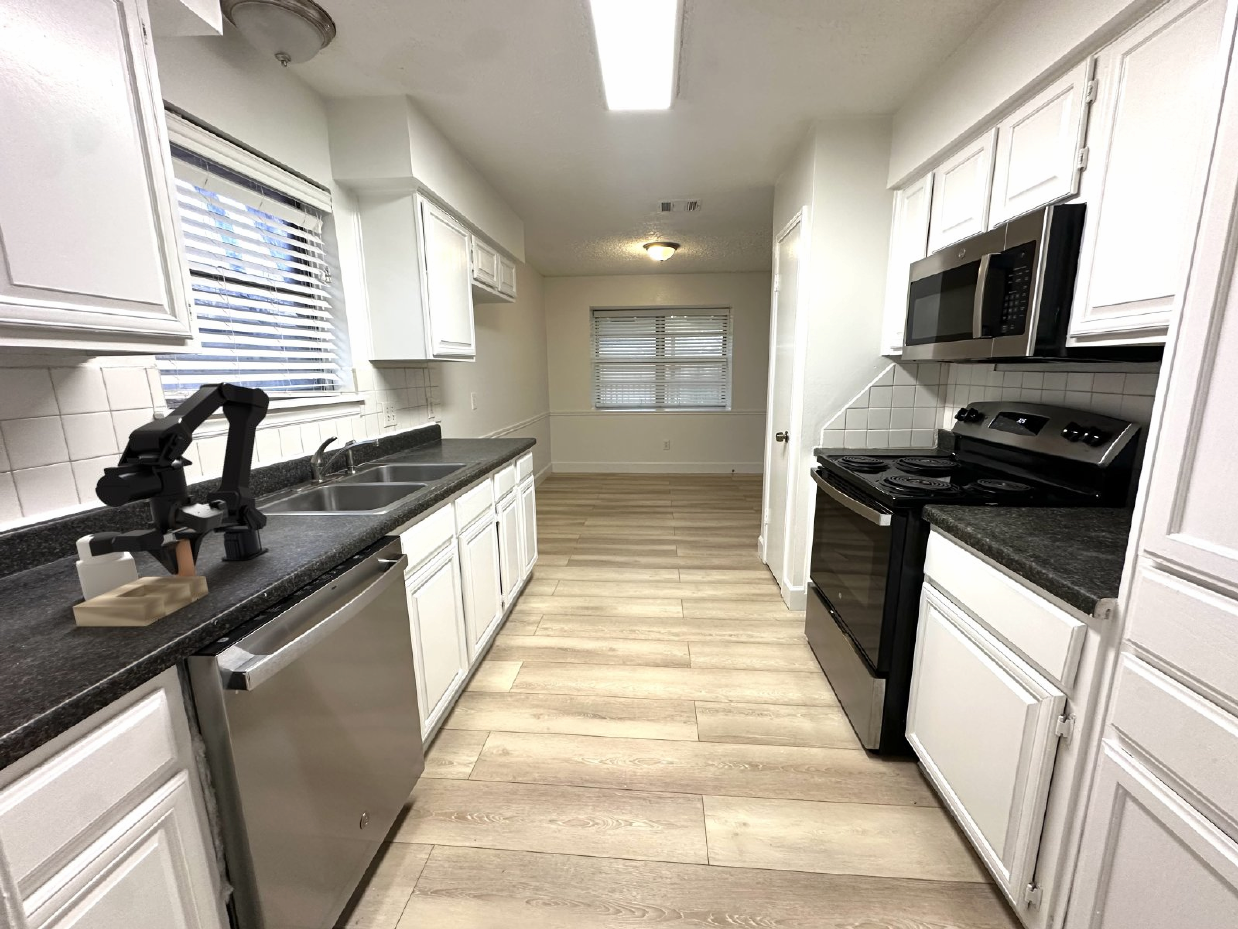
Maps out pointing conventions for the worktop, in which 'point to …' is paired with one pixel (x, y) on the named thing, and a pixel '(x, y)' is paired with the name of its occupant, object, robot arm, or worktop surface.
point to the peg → (185, 559)
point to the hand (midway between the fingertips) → (183, 570)
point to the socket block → (140, 601)
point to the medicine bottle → (103, 565)
